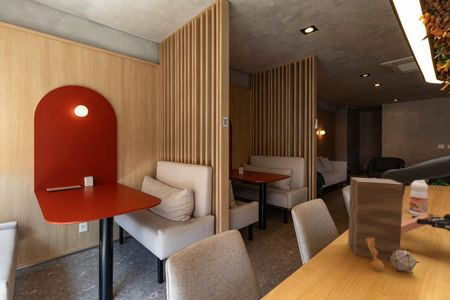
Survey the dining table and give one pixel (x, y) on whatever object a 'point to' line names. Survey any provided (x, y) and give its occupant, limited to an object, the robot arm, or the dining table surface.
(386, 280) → the dining table surface
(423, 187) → the fruit juice
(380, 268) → the figurine
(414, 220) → the terracotta bar
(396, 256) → the game die
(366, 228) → the walnut pedestal
